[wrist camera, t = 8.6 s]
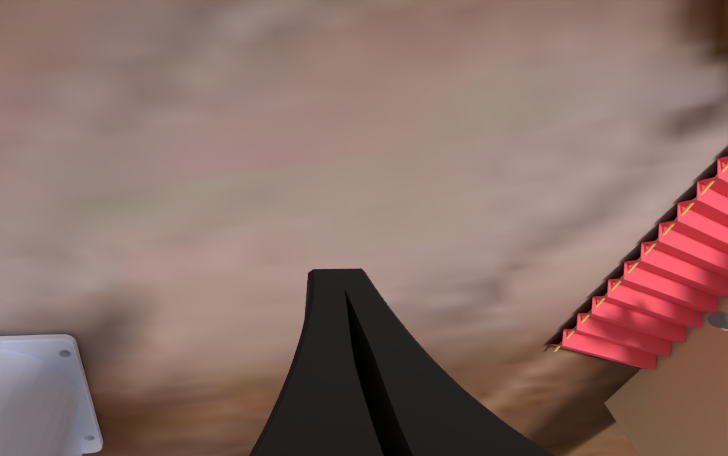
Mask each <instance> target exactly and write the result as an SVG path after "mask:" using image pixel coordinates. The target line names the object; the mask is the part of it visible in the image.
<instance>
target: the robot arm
mask: <svg viewBox="0 0 728 456" xmlns="http://www.w3.org/2000/svg"><path fill="white" fill-rule="evenodd" d="M64 350H67V351H64ZM102 446H103V439H102V436H101V432H100V428H99V424H98V421H97V417H96V413H95V409H94V406H93V402H92V398H91V395H90V391H89V387H88V383H87V380H86V376H85V372H84V368H83V365H82V361H81V357H80V354H79V350H78V346H77V342H76V340H75V338H73V337H72V336H70V335H67V334H54V335H22V336H0V456H82V454H84V453H95V452H98V451H100V450H101V449H102ZM249 456H554V455H552V454H550V453H549V452H547V451H545V450H544V449H542V448H541V447H539V446H538V445H536V444H535V443H533V442H532V441H530V440H529V439H527V438H526V437H524V436H523V435H522V434H520V433H519V432H517V431H516V430H514V429H513V428H512V427H510V426H509V425H507V424H506V423H505V422H504V421H502V420H501V419H500V418H498V417H497V416H496V415H495V414H493V413H492V412H491V411H490V410H488V409H487V408H486V407H485V406H483V405H482V404H481V403H480V402H478V401H477V400H476V399H475V398H473V397H472V396H471V395H470V394H469V393H468V392H466V391H465V390H464V389H463V388H462V387H461V386H460V385H459V384H457V383H456V382H455V381H454V380H453V379H452V378H451V377H450V376H449V375H448V374H447V373H446V372H445V371H444V370H443V369H442V368H441V367H440V366H439V365H438V364H437V363H436V362H435V361H434V360H433V359H432V358H431V357H430V356H429V355H428V353H427V352H426V351H425V350H424V349H423V348H422V347H421V346H420V344H419V343H418V342H417V341H416V340H415V339H414V338H413V336H412V335H411V334H410V333H409V332H408V330H407V329H406V328H405V327H404V325H403V324H402V323H401V322H400V320H399V319H398V318H397V317H396V315H395V314H394V313H393V311H392V310H391V309H390V308H389V306H388V305H387V303H386V302H385V301H384V299H383V298H382V297H381V295H380V294H379V292H378V291H377V289H376V288H375V286H374V285H373V284H372V282H371V280H370V279H369V277H368V276H367V274H366V273H365V272H364V271H363V270H362V269H313V270H312V271H310V272H309V273H308V281H307V294H306V308H305V320H304V324H303V329H302V333H301V336H300V339H299V343H298V346H297V349H296V352H295V355H294V359H293V362H292V364H291V367H290V370H289V373H288V375H287V378H286V380H285V383H284V385H283V388H282V390H281V392H280V395H279V397H278V399H277V401H276V404H275V406H274V408H273V410H272V412H271V415H270V417H269V419H268V421H267V423H266V425H265V427H264V429H263V431H262V433H261V435H260V437H259V438H258V440H257V442H256V444H255V446H254V448H253V449H252V451H251V453H250V455H249Z"/></svg>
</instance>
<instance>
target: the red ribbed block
mask: <svg viewBox="0 0 728 456" xmlns="http://www.w3.org/2000/svg"><path fill="white" fill-rule="evenodd" d="M550 345H553V346H557V347H556V348H555V349H554V350H553V351H554V352H556V351H557V350H558V349H559V348H560V347H561V348H565V349H569V350H573V351H577V352H580V353H584V354H588V355H592V356H596V357H600V358H604V359H607V360H611V361H615V362H619V363H623V364H627V365H631V366H634V367H638V368H642V369H640V370H639V371H638V372H637V373H636V374H635V375H634V376H633V377H632V378H631V379H630V380H629V381H628V382H626V383H625V384H624V385H623V386H622V387H621V388H620V389H619V390H618V391H617V392H616V393H615V394H614V395H612V396H611V397H610V398H609V399H608V400H607V401H606V402H605V403H604V404H605V405H606V407H607V408H608V410H609V411H610V413H611V414H612V416H613V417H614V419H615V420H616V422H617V423H618V425H619V426H620V428H621V429H622V431H623V432H624V433H625V435H626V436H627V438H628V439H629V441H630V442H631V444H632V445H633V447H634V448H635V450H636V451H637V453H638V454H639V456H728V156H726V157H722V158H718V159H717V175H716V176H715V177H713V178H709V179H704V180H700V181H697V196H696V197H695V198H694V199H693V200H689V201H684V202H678V203H677V218H676V219H675V220H674V221H669V222H663V223H659V235H658V238H657V239H656V240H655V241H651V242H643V243H641V256H640V257H639V259H638V260H634V261H624V275H623V276H622V277H621V278H620V279H608V289H607V293H606V294H605V295H604V296H595V297H593V298H592V309H591V310H590V311H589V312H588V313H578V316H577V325H576V326H575V327H574V328H573V329H563V339H562V341H561V342H560V344H559V345H556V344H550Z"/></svg>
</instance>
